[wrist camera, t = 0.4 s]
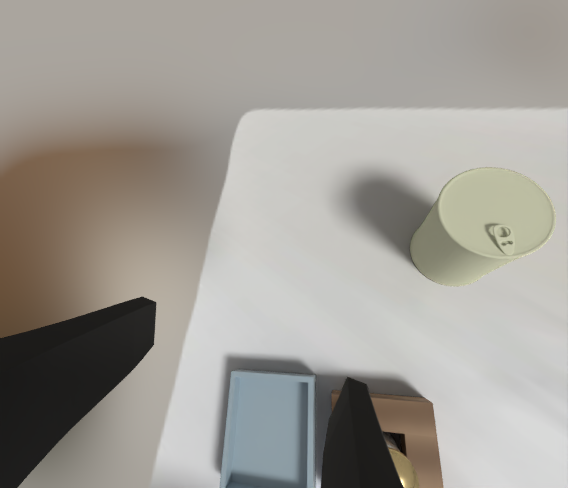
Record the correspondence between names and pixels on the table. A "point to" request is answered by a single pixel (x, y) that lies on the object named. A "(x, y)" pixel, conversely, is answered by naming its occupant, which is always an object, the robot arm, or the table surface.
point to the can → (481, 225)
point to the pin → (402, 464)
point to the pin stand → (410, 432)
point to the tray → (270, 431)
